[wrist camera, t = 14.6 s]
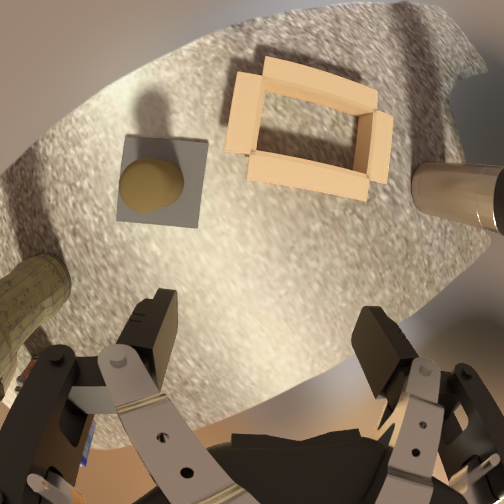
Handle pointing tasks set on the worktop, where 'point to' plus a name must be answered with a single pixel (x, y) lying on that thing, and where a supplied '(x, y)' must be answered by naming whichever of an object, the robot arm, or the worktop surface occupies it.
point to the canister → (9, 373)
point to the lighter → (25, 373)
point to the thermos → (29, 302)
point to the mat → (192, 167)
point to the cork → (150, 184)
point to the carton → (320, 92)
